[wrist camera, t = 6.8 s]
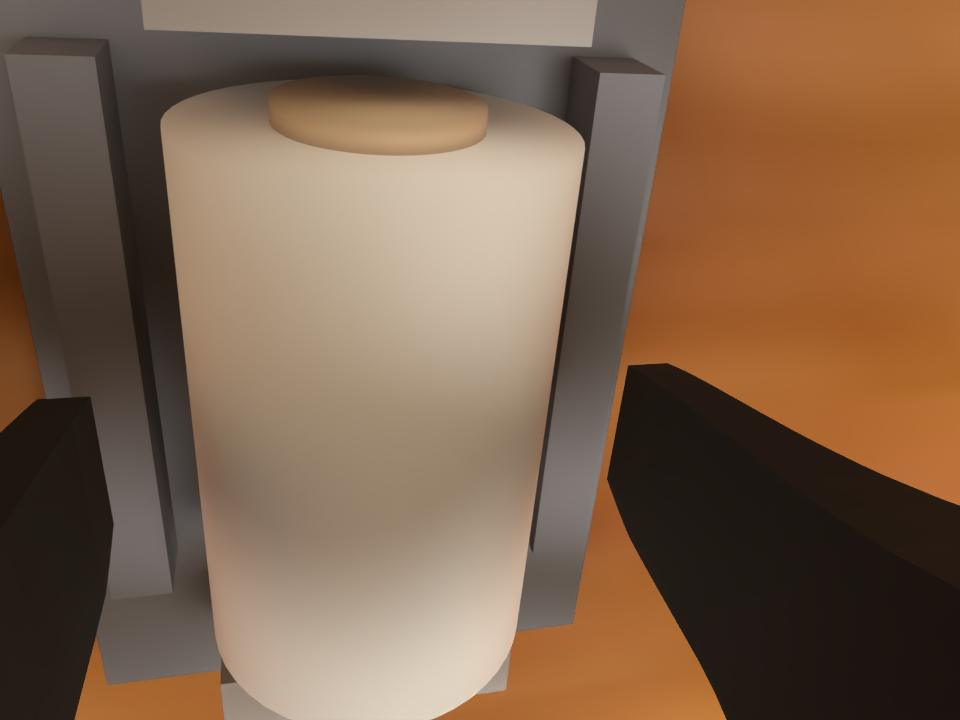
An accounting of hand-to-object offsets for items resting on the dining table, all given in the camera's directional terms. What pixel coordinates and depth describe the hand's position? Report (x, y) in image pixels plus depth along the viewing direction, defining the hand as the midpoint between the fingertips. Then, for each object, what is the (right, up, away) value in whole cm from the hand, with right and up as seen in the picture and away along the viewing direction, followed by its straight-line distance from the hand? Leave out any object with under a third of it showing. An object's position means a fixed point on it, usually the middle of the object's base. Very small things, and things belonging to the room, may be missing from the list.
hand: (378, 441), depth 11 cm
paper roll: (-1, +2, +3) cm, 3 cm away
